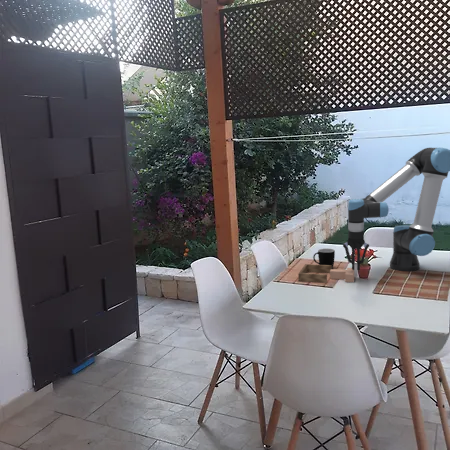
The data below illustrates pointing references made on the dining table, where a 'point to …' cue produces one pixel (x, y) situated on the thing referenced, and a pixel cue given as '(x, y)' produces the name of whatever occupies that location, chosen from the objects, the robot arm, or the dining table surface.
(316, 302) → the dining table surface
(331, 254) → the mug
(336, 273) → the block
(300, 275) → the pocket
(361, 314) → the dining table surface
